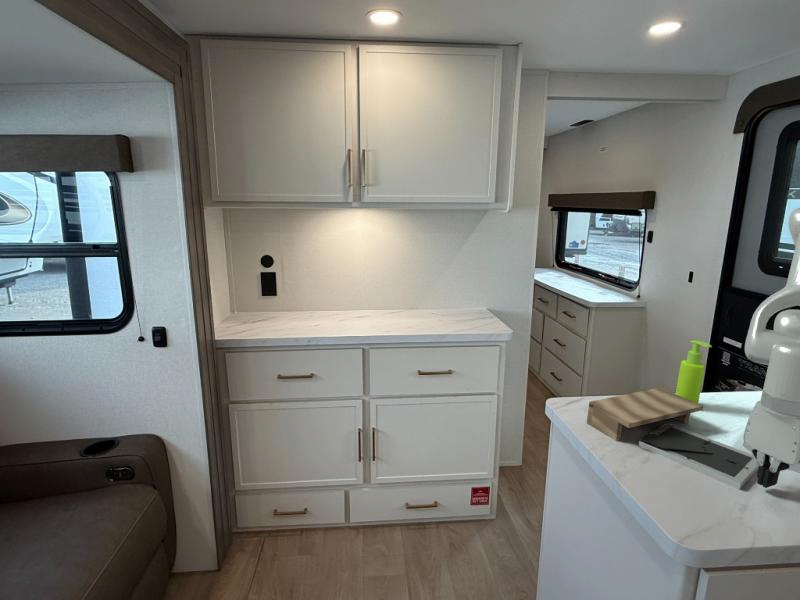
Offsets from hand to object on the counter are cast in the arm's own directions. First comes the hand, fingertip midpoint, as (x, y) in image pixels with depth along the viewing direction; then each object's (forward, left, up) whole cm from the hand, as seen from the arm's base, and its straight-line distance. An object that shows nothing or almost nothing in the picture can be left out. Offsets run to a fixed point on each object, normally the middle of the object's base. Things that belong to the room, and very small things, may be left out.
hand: (765, 484), depth 95 cm
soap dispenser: (-23, -33, -2) cm, 40 cm away
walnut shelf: (0, -29, -1) cm, 29 cm away
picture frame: (0, -14, -2) cm, 14 cm away
